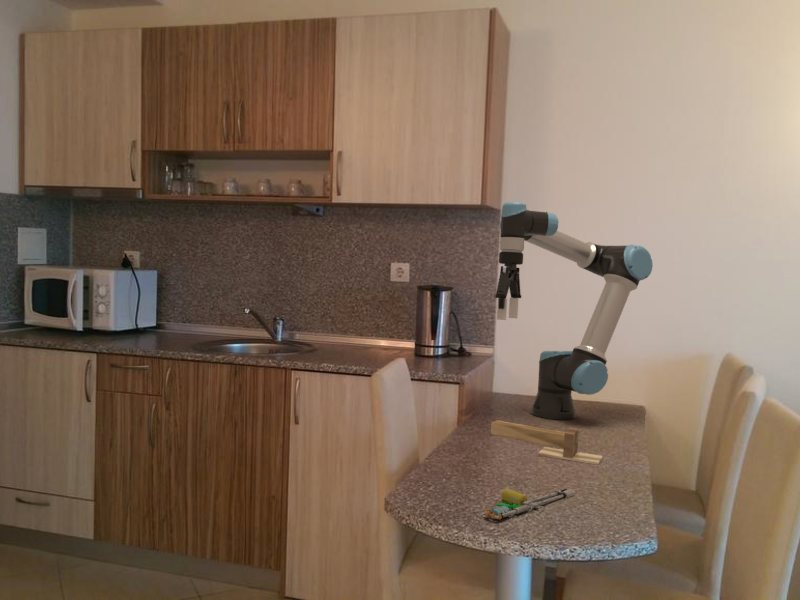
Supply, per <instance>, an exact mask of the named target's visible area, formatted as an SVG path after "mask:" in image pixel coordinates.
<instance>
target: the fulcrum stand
mask: <svg viewBox="0 0 800 600" xmlns="http://www.w3.org/2000/svg"><path fill="white" fill-rule="evenodd" d="M564 432H565V436H564V448H563V449H562V448H561V449H559V448H555V447H549V446H543V448H541V450H539V451H538V452H537V456H539V457H540V456H541V457H548V458H552V459H553V458H554V459H558V460H559V459H560V460H566V461H573V462H580V463H586V464H592V465H598V466H599V464H600V463H601V461H602V459H603V458H604V455H602V454H601V455H600V454H593V453H586V452H581V451H580V452H579V451H578V448H579V447H578V446H579V433H580V428H575V427H569V428H568V429H567V430H566V431H564Z"/></svg>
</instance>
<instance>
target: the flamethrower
mask: <svg viewBox="0 0 800 600" xmlns="http://www.w3.org/2000/svg"><path fill="white" fill-rule="evenodd" d="M574 495H575V492H574V490H573V489H571V488H570V489H567V488H564V489H562V490H558V491H557V490H556V491H554V492H551V493H548V494H545V495H543V496H540V497H536V498H533V499H528V497H527V495H525V494H524V493H523V494H522V493H520V492H518V491H515V490H512V489H510V488H504V489H503V490H502V493H501V500H500V503H496V508H491V509H487V508H486V509H485V510H484V514H485V516H486V517H488V518H490V517H491V519H493V520H499V521H500V520H501V519H503V518H506V517H509V516H511V517H513V518H517V516H516V515H518V514H521V513H525V512H527V513H528V512H531V511H532V510H534V509H538V512H536V513H534V516H536V515H538V514H539V513H540V512H544V511H545V507H544V506H541V505H545V504H547V503H551V502H553V501H557V500H559V499H561V498H562V499H565V498H566V499H567V498H571V497H574ZM541 509H542V510H541ZM514 514H515V515H514Z"/></svg>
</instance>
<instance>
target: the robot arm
mask: <svg viewBox="0 0 800 600" xmlns="http://www.w3.org/2000/svg"><path fill="white" fill-rule="evenodd" d="M499 229H500V237H499V240H498V244H499V250H500V251H499V254H498V263H499V264H500V265H501V266H500V273H499V278H498V283H497V288H496V293H495V295H494V297H495V299H497V308H496V309H497V311H496V320H500V321H501V320H503V321H507V313H508V319H518V314H519V313H518V312H519V311H518V310H519V299H522V294H521V283H520V282H521V279H520V267H517V265H523V263H524V253H523V251H524V250H525V242H528V244H529V243H530V244H532V245H534V246H536V247H539V248H541V249H543V250H546V251H549V252H551V253H553V254H555V255H558V256H560V257H562V258H565V259H567V260H569V261H572V262H574V263H575V264H576V265H577V267H578V268H581V269H583V270H586V271H588V272H590V273H592V274H595V275H597V276H600V277H602V278H603V279H604V281H605V284H604V286H603V289H602V291H601V293H600V296H599V299H598V301H597V302H596V305H595V308H594V311H593V313H592V315H591V318H590V320H589V322H588V325H587V327H586V330H585V332H584V335H583V337H582V340H581V342H580V343H579V345H578V346H575V347H573V348H572V349H573V350H544V351H542V352H541V353H540V355H539V361H538V381H537V383H538V384H537V393H536V396H535V398H534V400H533V403H532V406H531V415H533V416H535V417H537V418H538V417H539V418H544V419H550V420H573V419H576V409H575V405H574V402H573V397H572V392H576V393H578V394H580V395H589V396H590V395H595V394H598V393H599V392H600V391H602V390H603V389H604V387H605V386H606V384H607V382H608V378H609V373H608V371H609V369H608V367H607V366H606V365H607V362H608V360H607V358H606V356H605V355H606V352H607V350H608V348H609V345H610V343H611V340H612V337H613V336H614V335H613V334H614V332H615V331H616V328H617V326H618V323H619V320H620V318H621V315H622V313H623V310H624V308H625V307H626V303H627V301H628V298H629V296H630V293H631V292H632V291H635V290H637V289H638V286H639V284H640V281H643V280H646V279H647V278H649V276H650V275H651V274H652V271H653V259H652V255H651V254H650V252H649V251H648V249H647V248H645V247H644V246H641V245H634V244H629V245H602V244H597V243H596V244H595V243H593V242H591V241H589V242H584V241H581V240H580V239H577V238H575V237H572V236H570V235H568V234H566V233H564V232H562V231H559V230H558V229H559V218H558V216H557V214H555V213H553V212H548V211H546V212H545V211H538V210H537V211H536V210H535V211H534V210H528V209H527V204H526V203H525V202H522V201H507V202H504V203H503V204H502V208H501V214H500V223H499ZM508 293H509V294H510V297H509V303H508V298H507V297H508ZM508 306H509V307H508ZM507 309H508V311H507Z"/></svg>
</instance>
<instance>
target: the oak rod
mask: <svg viewBox="0 0 800 600" xmlns="http://www.w3.org/2000/svg"><path fill="white" fill-rule="evenodd" d="M490 427H491V428H490V435H492V436H493V435H494V436H497V437H504V438H510V439H512V440H513V439H514V440H519V441H524V442H529V443H530V442H531V443H533V444H534V443H535V444H541V445H546V446H551V447H556V448H561V449H562V448H563V449H564V436H565V432H566V431H561V430H560V431H559V430H555V429H549V428H548V429H547V428H541V427H537V426H531V425H526V424H520V423H514V422H508V421H503V420H497V419H496V420H495V421H491V425H490Z"/></svg>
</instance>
